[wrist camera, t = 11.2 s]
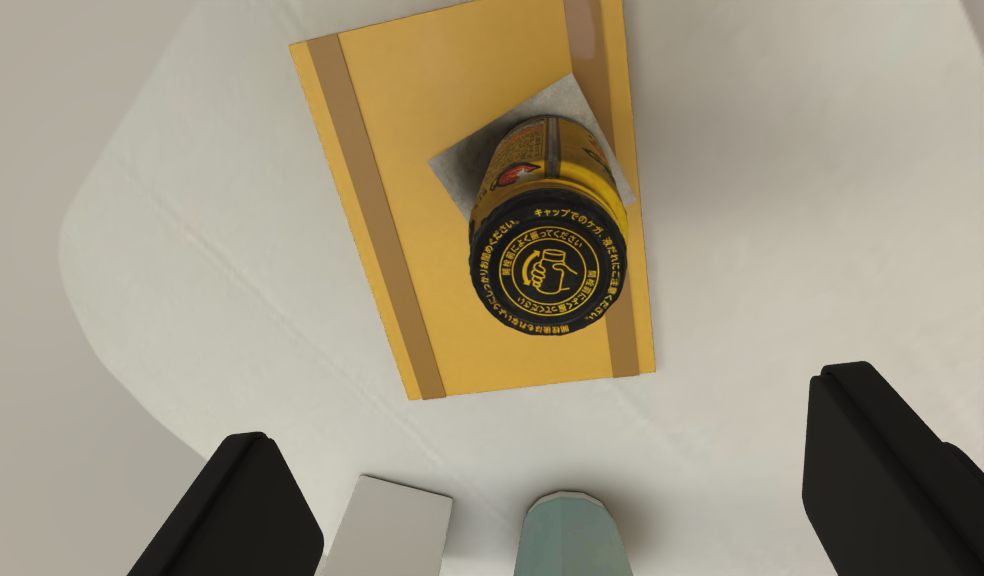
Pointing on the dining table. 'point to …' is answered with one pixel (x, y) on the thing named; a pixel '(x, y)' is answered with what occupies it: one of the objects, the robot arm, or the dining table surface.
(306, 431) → the dining table surface
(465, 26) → the towel
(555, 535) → the disposable coffee cup
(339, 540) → the milk carton
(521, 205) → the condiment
